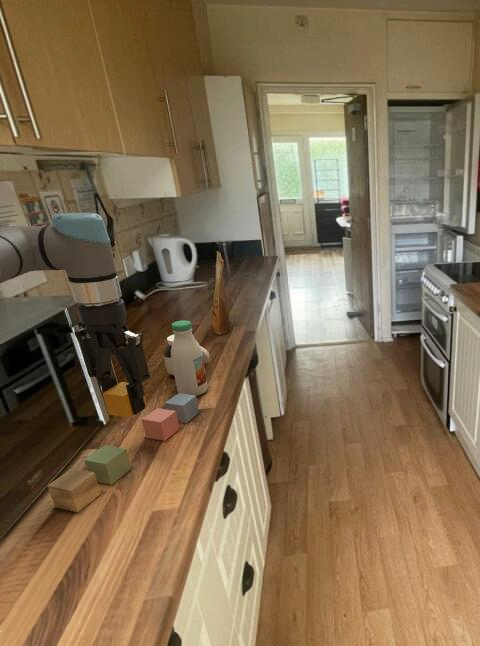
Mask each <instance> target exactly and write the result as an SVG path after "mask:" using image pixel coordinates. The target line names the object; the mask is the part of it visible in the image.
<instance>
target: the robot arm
mask: <svg viewBox="0 0 480 646" xmlns="http://www.w3.org/2000/svg"><path fill="white" fill-rule="evenodd" d="M63 270H64V271H65V273H66V276H67V279H68V283H69V287H70V290H71V294H72V298H73V301H74V302H75V303H76V304H77V305H76V307H75V308H76V312H77V315H78V318H79V322H80V324H82V325H83V326H85V327H83V328H80V329H78V330H75V331H73V334H74V336H75V338H76V340H77V341H78V344H79V346H80V350H81V354H82V357H83V361H84V364H85V368H86V372H87V375H88V377H90V378H96V380H97V382H99V384H100V387H101V391H102V393H104V392H105V391H107V390H109V389H111V388H112V387H114V386H116V385H117V384H118V381H117V377H116V376H113V375H115V372H113V371H112V355H114V356H115V358H116V360H117V362H118V364H119V366H120V368H121V371H122V373H123V374H124V377H125V379H126V381H127V383H129V384H127V385H126V389H127V393H128V396H129V400H130V404H131V408H132V412H133V414H134V415H137V414H139V413H142V412H143V410H145V409H146V407H147V406H146V407H145V402H144V398H143V396H144V395H145V391H144V386H143V383H144V382H146V381H148V380H149V379H150V378H151V375H150V371H149V367H148V363H147V358H146V353H145V349H144V345H143V342H144V335H143V334H142V333H140V332H137V333H133V332H131V331H130V329H129V327H128V326H127V324H126V319H127V317H128V314H127V309H126V305H125V301H124V299H123V298H121V297H123V293H122V289H121V284H120V280H119V277H118V272H117V268H116V264H115V259H114V255H113V249H112V245H111V238H110V236H109V234H108V230H107V227H106V224H105V221H104V218H103V217H102V216H101V215H100V214H98V213H96V212H95V213H94V212H65V213H63V212H62V213H56V214H53V215H52V217H51V225H43V226H41V225H32V226H31V225H6V224H5V225H4V224H1V225H0V284H3V283H5V282H7V281H10V280H13V279H15V278H17V277H20V276H22V275H25V274H27V273H30V272H38V271H39V272H40V271H41V272H42V271H63Z"/></svg>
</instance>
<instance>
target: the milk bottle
mask: <svg viewBox="0 0 480 646" xmlns="http://www.w3.org/2000/svg"><path fill="white" fill-rule="evenodd" d="M192 325H193V324H192V322H191V321H190V320H183V319H182V320H177V321H174V322H172V323H171V329H172V333H173V335H174V341H173V345H172V348H171V359H172V365H173V370H174V376H175V377H174V380H175V385H176V391H177V394H178V393H182V394H188V395H195V396H196V397H198V396H200V395H201V396H202V395H203V394H205V393H206V392H207V390H208V388H209V386H208V379H207V372H206V366H205V363H204V360H203V355H202V350H201V347H202V346H201V345H200V344H199V342H198V341H197V339H196V338H195V336H194V334H193V332H192V331H193V327H192ZM200 346H201V347H200Z"/></svg>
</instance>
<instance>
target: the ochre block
mask: <svg viewBox="0 0 480 646" xmlns="http://www.w3.org/2000/svg"><path fill="white" fill-rule="evenodd" d="M127 384H129V383H128V382H125V381H121V382H119V383H117V385H116V386H114V387H112V388H111V389H109V390H107V391H105V392H104V393H103V392H102V397H103V401H104V404H105V407H106V411H107V415H108V416H115V417H121V418H127V419H130V418H131V417H133V416H134V415H135V414H133V412H132V408H131V404H130V400H129V396H128V393H127V389H126V385H127ZM143 398H144V402H145V407H147V406H148V404H147V399H146V397H145V394H144V396H143Z"/></svg>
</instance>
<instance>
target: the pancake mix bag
mask: <svg viewBox="0 0 480 646" xmlns="http://www.w3.org/2000/svg"><path fill="white" fill-rule="evenodd" d="M215 253H216V262H215V283H214V293H213V302H212V326H213V331H214V334H215V335H219V336H223V335H225V334H227V333H228V332H229V328H230V308H229V307H230V306H229V300H228V293H227V289H226V287H225V280H224V277H223V271H224V268H225V262H224V259H223V258H222V253H221V252H220V251H218V250H216V252H215Z"/></svg>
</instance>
